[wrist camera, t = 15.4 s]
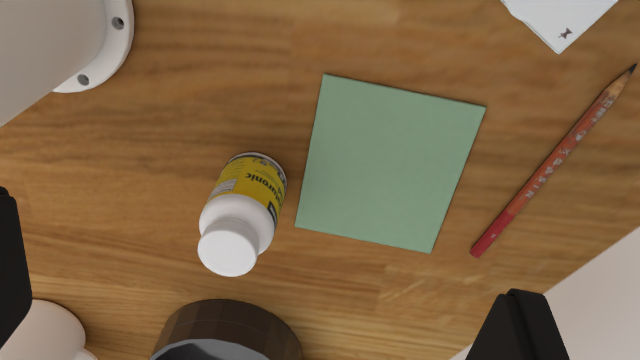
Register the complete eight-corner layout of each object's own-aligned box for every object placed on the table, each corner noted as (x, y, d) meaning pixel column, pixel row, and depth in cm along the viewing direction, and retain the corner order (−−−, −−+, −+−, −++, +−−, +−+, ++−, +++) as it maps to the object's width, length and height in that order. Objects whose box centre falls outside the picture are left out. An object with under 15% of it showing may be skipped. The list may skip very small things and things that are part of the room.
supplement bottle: (300, 189, 43) (282, 268, 34) (248, 214, 45) (219, 295, 36) (262, 138, 41) (233, 210, 32) (209, 167, 42) (169, 242, 34)
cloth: (294, 224, 45) (294, 226, 44) (323, 73, 37) (323, 74, 37) (430, 251, 45) (430, 253, 45) (485, 106, 37) (486, 107, 37)
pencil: (478, 254, 45) (479, 261, 44) (467, 249, 45) (469, 256, 44) (640, 64, 35) (646, 69, 34) (627, 57, 35) (633, 62, 34)
